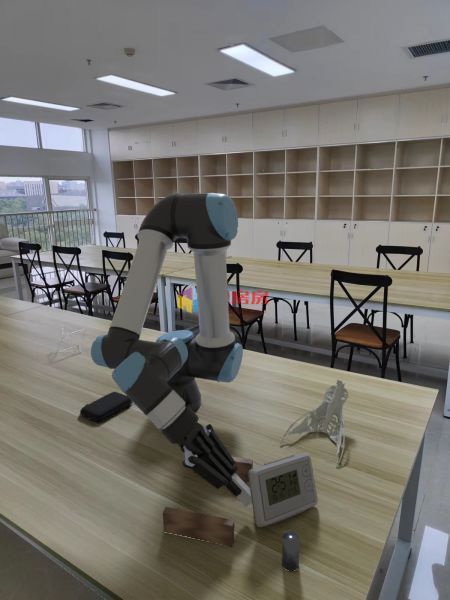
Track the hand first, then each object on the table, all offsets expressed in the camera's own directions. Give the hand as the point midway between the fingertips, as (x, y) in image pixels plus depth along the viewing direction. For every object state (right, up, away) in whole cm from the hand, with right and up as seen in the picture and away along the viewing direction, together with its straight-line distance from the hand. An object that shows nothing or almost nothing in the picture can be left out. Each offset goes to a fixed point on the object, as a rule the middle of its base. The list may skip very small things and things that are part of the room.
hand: (251, 501), depth 85 cm
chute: (-8, -3, +4) cm, 10 cm away
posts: (+9, -4, 0) cm, 10 cm away
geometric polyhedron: (-70, +20, +91) cm, 117 cm away
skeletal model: (+22, +4, +29) cm, 37 cm away
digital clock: (+7, -3, +1) cm, 7 cm away
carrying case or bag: (-42, +7, +44) cm, 61 cm away
